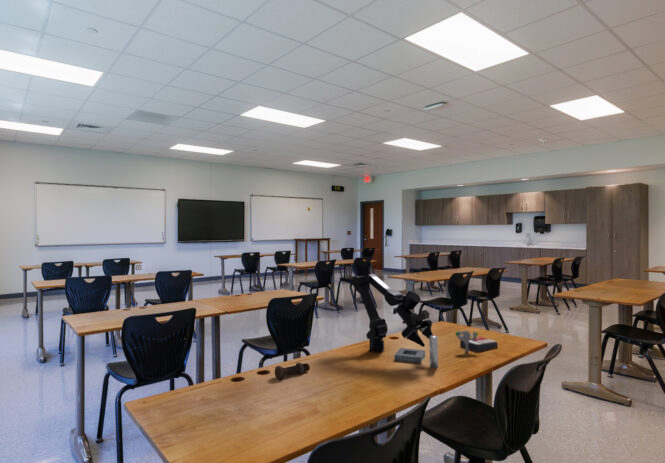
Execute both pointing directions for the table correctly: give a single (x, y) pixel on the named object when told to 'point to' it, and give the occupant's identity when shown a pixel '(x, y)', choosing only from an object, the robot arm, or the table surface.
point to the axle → (433, 351)
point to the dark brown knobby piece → (291, 370)
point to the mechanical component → (466, 337)
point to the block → (409, 355)
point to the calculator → (479, 344)
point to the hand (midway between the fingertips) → (429, 343)
